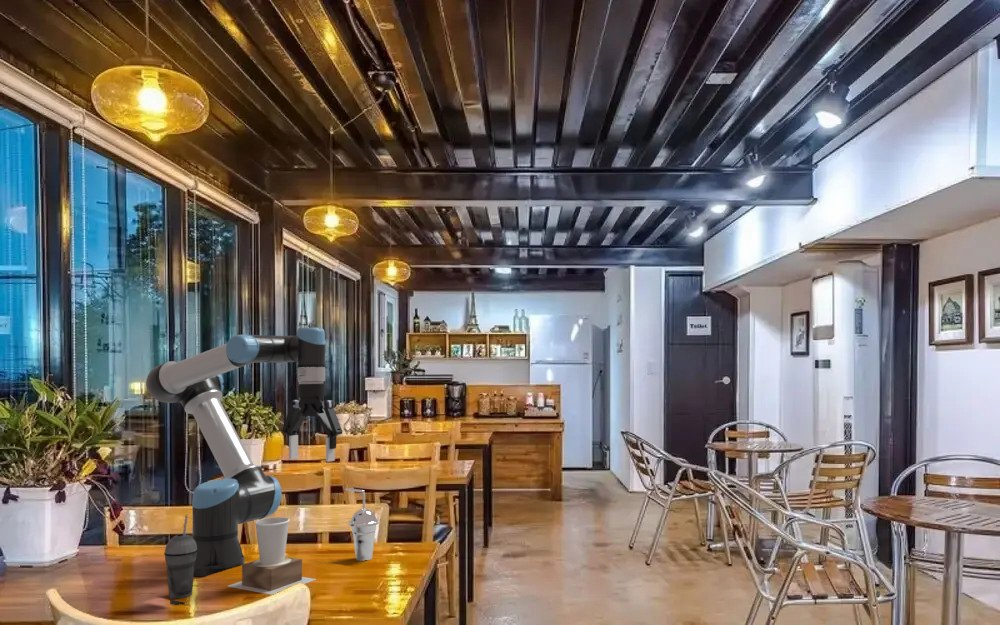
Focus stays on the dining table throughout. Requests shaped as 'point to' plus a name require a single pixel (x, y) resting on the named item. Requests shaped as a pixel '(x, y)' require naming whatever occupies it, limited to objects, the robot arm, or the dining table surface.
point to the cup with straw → (363, 530)
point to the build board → (239, 585)
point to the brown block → (271, 574)
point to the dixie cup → (272, 539)
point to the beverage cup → (180, 565)
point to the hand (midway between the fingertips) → (311, 460)
